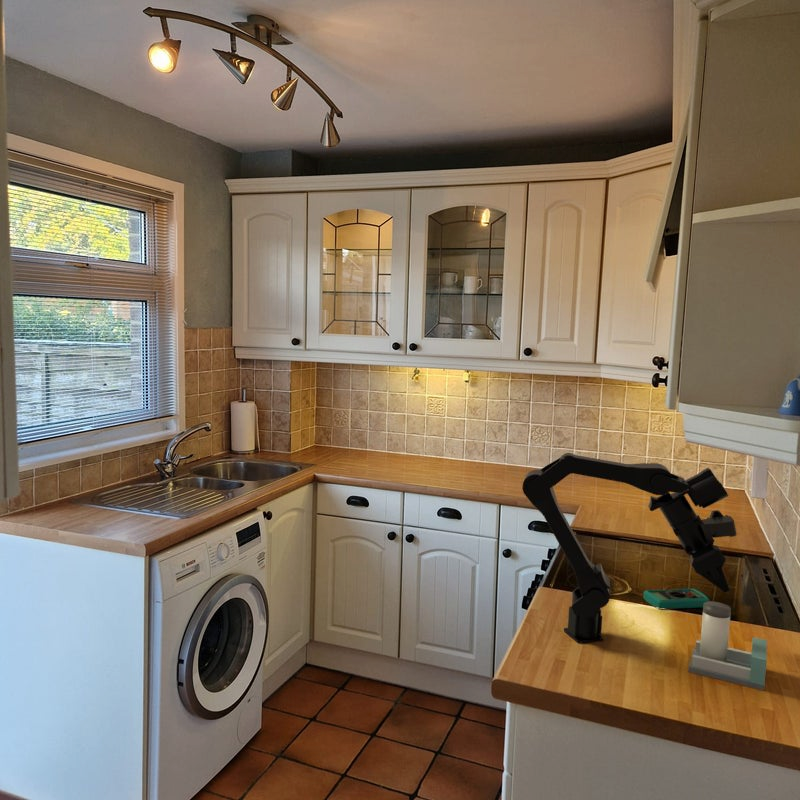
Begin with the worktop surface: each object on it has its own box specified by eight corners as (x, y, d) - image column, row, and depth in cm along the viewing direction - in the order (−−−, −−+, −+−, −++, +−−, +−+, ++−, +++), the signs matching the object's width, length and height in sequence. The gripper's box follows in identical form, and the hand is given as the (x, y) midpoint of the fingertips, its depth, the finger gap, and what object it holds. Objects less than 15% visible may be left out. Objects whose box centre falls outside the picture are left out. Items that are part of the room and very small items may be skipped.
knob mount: (688, 671, 134) (690, 642, 133) (693, 652, 143) (695, 624, 142) (764, 690, 128) (766, 660, 127) (764, 668, 136) (766, 640, 136)
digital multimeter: (711, 608, 168) (712, 597, 168) (658, 611, 165) (658, 600, 165) (693, 597, 175) (694, 586, 175) (641, 600, 172) (642, 588, 172)
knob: (698, 662, 135) (702, 607, 134) (700, 652, 140) (704, 599, 139) (725, 669, 133) (730, 613, 132) (727, 658, 137) (731, 604, 136)
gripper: (727, 511, 130) (772, 582, 129) (710, 491, 148) (749, 552, 147) (674, 537, 133) (717, 606, 132) (663, 514, 151) (701, 575, 150)
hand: (722, 583), depth 140 cm, fingers open, 9 cm apart
